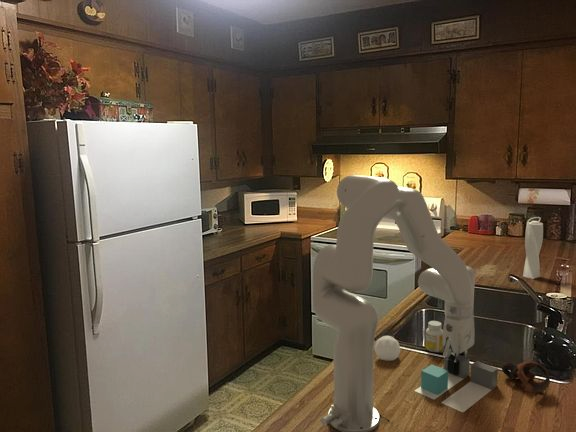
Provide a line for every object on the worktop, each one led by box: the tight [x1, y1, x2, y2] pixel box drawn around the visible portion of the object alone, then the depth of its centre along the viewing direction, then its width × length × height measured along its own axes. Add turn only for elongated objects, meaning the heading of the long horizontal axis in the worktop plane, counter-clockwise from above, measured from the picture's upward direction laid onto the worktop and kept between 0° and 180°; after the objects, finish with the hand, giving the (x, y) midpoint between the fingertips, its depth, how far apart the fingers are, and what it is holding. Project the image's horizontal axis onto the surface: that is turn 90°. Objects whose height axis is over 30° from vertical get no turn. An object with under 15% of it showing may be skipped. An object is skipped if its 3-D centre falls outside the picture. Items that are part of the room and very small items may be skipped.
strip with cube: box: [413, 352, 471, 400], centre depth 131 cm, size 18×6×6 cm, turn 132°
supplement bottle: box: [424, 320, 444, 353], centre depth 152 cm, size 5×5×10 cm
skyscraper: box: [522, 216, 544, 280], centre depth 223 cm, size 8×8×28 cm
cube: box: [420, 364, 448, 395], centre depth 129 cm, size 5×5×5 cm
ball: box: [373, 335, 401, 362], centre depth 147 cm, size 8×8×8 cm
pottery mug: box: [500, 360, 551, 394], centre depth 131 cm, size 12×10×8 cm
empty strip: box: [441, 360, 499, 413], centre depth 126 cm, size 18×6×6 cm, turn 132°
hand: (456, 370), depth 137 cm, fingers closed on strip with cube, 3 cm apart
